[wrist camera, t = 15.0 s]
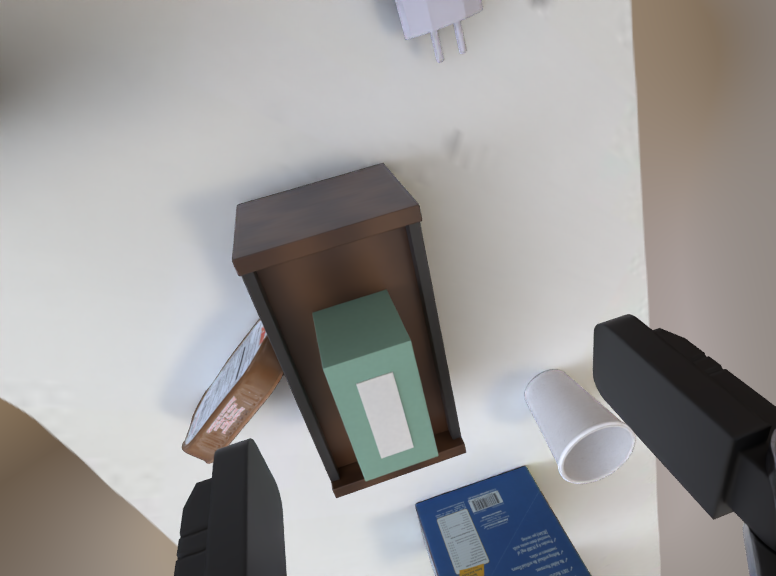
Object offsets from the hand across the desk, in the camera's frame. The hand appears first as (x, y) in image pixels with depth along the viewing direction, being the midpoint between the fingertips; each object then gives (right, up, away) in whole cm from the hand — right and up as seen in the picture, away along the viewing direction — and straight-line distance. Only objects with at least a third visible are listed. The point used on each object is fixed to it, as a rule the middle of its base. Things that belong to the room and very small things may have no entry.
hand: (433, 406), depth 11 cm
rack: (-5, +1, +34) cm, 34 cm away
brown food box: (-14, -4, +34) cm, 37 cm away
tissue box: (-3, -3, +27) cm, 27 cm away
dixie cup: (+17, -9, +45) cm, 50 cm away
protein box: (+10, -26, +53) cm, 60 cm away
